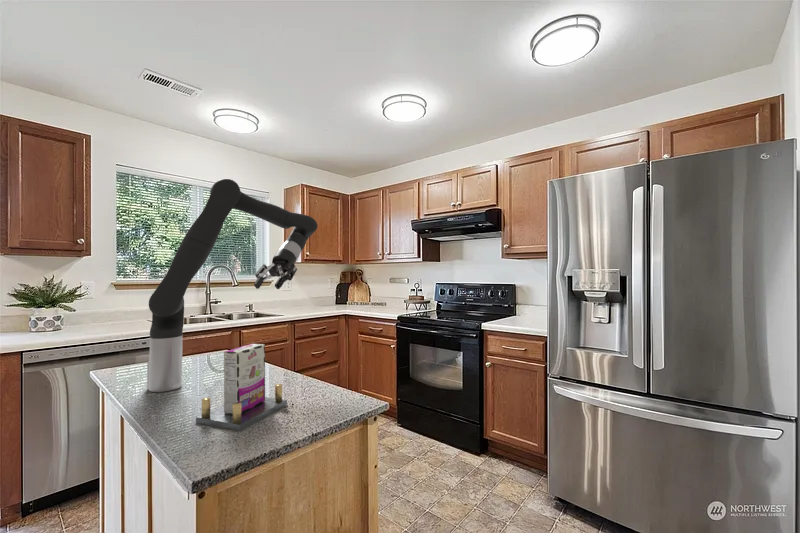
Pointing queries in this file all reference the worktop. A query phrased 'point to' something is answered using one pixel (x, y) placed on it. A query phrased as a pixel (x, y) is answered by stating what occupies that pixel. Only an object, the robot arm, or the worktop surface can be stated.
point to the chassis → (238, 419)
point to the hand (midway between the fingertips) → (266, 287)
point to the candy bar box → (244, 377)
